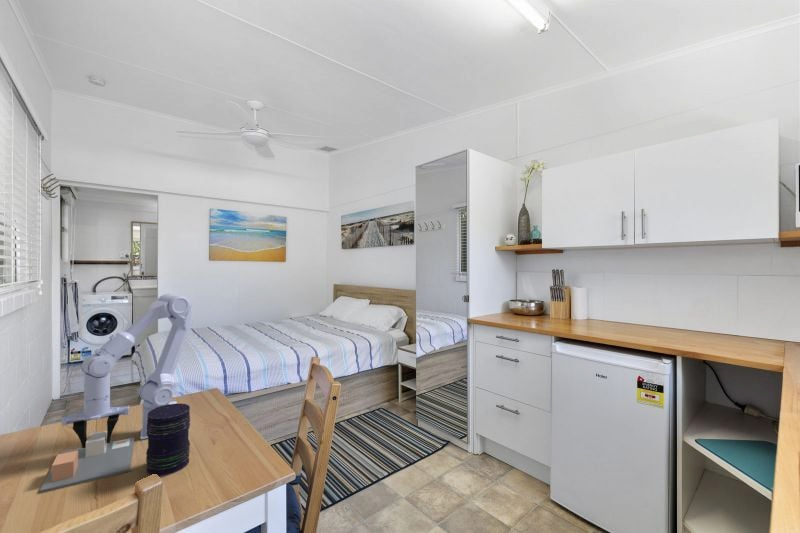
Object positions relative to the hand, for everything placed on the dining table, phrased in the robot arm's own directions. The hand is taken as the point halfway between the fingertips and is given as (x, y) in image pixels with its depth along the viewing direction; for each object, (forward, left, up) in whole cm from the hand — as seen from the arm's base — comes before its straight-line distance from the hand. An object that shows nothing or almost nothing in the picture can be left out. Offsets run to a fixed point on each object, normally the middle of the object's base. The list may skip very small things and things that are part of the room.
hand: (96, 444), depth 103 cm
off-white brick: (0, 0, -2) cm, 2 cm away
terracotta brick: (+5, +10, -2) cm, 11 cm away
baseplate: (0, +6, -2) cm, 6 cm away
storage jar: (-17, +18, -3) cm, 25 cm away
